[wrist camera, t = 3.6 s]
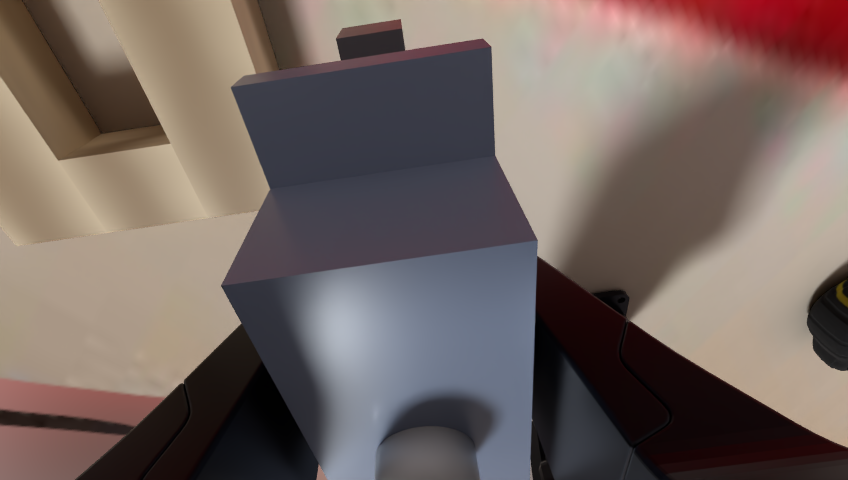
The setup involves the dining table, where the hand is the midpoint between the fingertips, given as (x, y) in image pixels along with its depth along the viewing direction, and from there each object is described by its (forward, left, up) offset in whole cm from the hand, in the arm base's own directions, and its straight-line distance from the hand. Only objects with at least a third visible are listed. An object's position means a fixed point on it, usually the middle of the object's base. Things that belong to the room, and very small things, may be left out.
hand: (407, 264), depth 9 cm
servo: (0, 0, -3) cm, 2 cm away
